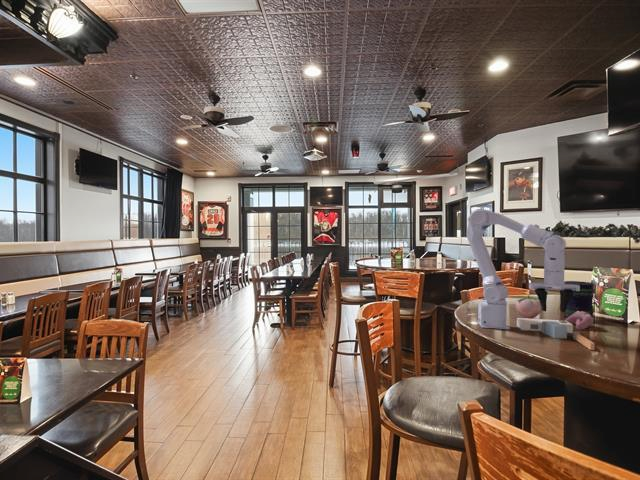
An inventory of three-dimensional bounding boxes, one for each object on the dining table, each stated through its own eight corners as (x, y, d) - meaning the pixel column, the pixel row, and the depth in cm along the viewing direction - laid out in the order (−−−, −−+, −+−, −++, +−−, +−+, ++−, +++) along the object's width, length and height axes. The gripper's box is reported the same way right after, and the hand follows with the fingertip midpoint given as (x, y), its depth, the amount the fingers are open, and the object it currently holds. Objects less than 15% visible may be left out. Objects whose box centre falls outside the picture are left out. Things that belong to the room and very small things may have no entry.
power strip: (521, 330, 127) (522, 320, 127) (516, 325, 133) (517, 316, 133) (573, 333, 123) (573, 323, 123) (565, 328, 129) (565, 319, 129)
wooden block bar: (596, 350, 105) (596, 342, 105) (588, 349, 105) (589, 341, 105) (578, 338, 116) (578, 331, 116) (572, 338, 117) (572, 331, 117)
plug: (552, 338, 118) (552, 326, 118) (541, 332, 125) (541, 321, 125) (568, 338, 117) (568, 326, 117) (556, 332, 124) (556, 321, 124)
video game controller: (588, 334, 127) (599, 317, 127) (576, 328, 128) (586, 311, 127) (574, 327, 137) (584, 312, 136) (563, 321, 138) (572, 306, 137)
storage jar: (585, 323, 137) (586, 285, 137) (558, 318, 146) (558, 281, 145) (598, 320, 142) (598, 283, 142) (570, 315, 151) (571, 280, 150)
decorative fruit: (530, 316, 148) (531, 292, 148) (545, 321, 140) (546, 296, 140) (510, 317, 147) (510, 293, 146) (524, 322, 138) (524, 296, 138)
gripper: (533, 271, 118) (533, 312, 118) (584, 273, 114) (583, 315, 114) (527, 269, 124) (526, 308, 125) (574, 270, 121) (573, 310, 121)
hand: (553, 311), depth 120 cm, fingers open, 5 cm apart
